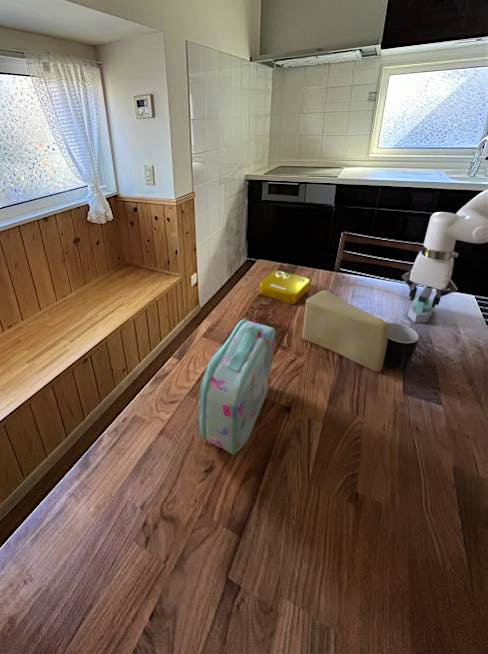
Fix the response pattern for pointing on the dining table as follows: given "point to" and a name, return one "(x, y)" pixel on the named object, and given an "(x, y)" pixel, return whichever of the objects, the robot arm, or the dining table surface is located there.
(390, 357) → the mug
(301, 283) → the element tile
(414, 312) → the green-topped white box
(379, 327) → the cheese
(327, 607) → the dining table surface
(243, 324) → the lunch box
